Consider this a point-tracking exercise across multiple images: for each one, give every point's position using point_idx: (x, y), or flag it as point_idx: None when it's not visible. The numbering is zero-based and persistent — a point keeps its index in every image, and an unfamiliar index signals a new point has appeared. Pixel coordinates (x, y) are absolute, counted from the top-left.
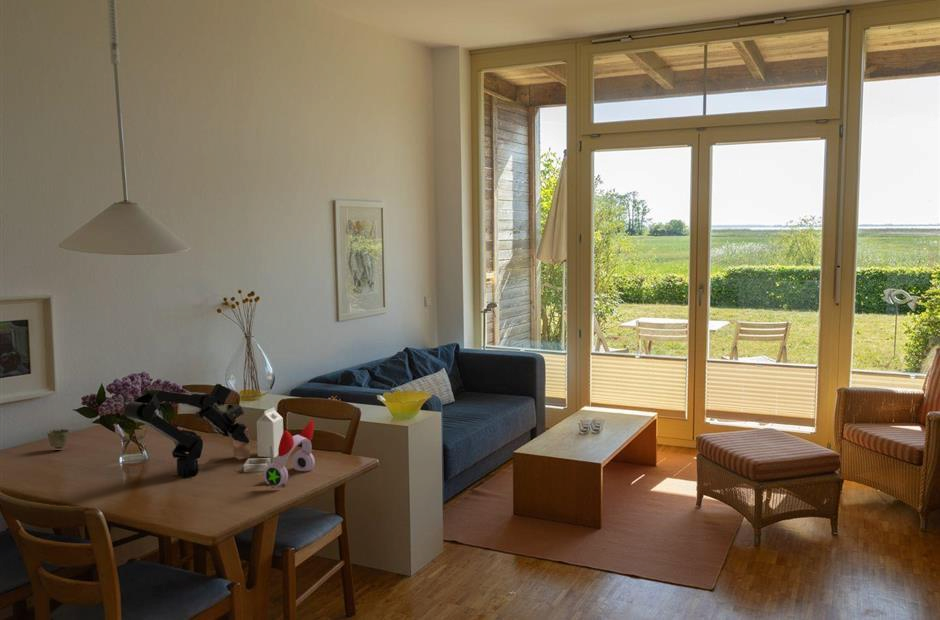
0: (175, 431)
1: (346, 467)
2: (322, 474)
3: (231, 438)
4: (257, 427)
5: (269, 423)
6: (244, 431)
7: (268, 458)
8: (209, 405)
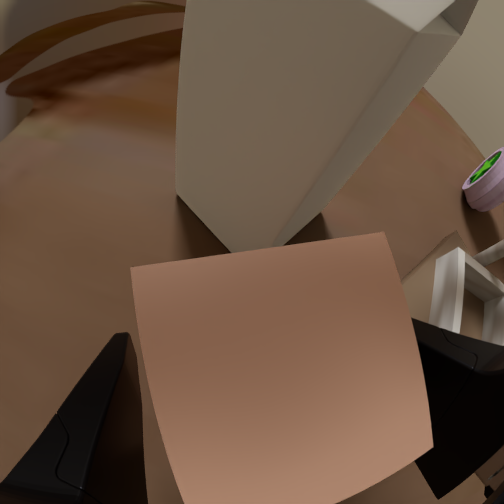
0: None
1: (430, 107)
2: (473, 169)
3: (446, 493)
4: (370, 105)
5: (448, 44)
6: (396, 324)
7: (462, 257)
8: None
